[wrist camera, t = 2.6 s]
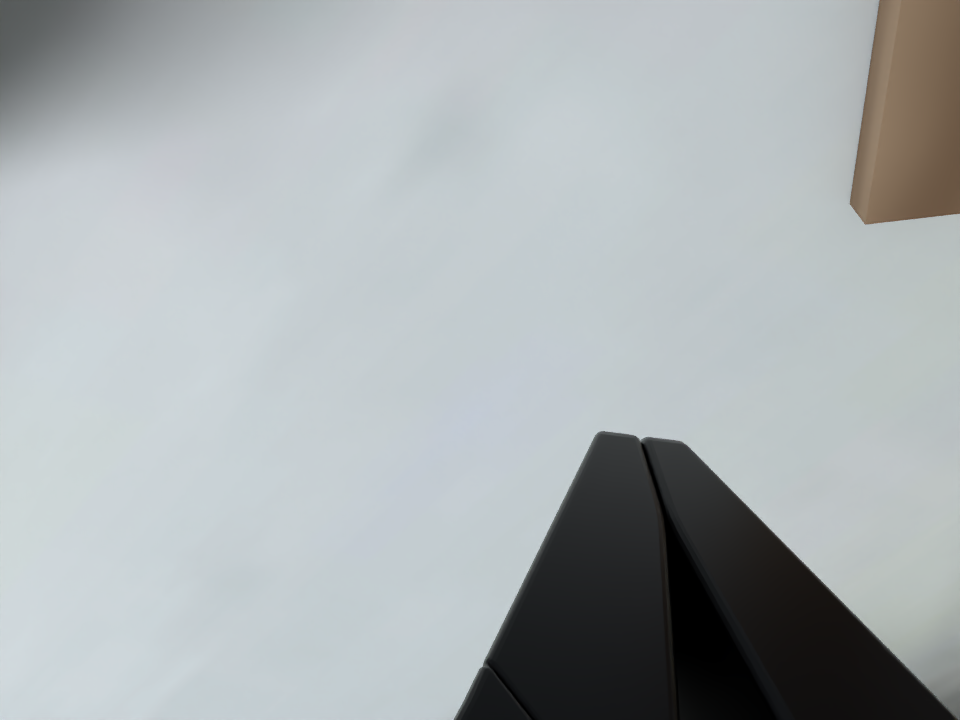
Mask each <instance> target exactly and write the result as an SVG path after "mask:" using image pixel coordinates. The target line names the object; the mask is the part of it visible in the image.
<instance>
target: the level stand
mask: <svg viewBox="0 0 960 720" xmlns="http://www.w3.org/2000/svg"><path fill="white" fill-rule="evenodd" d="M850 205H851V206H852V208H853V209H854V210H855V212H856V213H857V214H858V216H859V217H860V218H861V220H862V221H863V222H864V224H874V223H882V222H891V221H900V220H908V219H917V218H926V217H934V216H943V215H952V214H960V0H880V1H879V8H878V15H877V22H876V29H875V35H874V42H873V49H872V56H871V63H870V69H869V76H868V83H867V90H866V97H865V103H864V110H863V117H862V124H861V131H860V137H859V144H858V151H857V158H856V165H855V171H854V178H853V185H852V192H851V199H850Z"/></svg>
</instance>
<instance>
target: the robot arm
mask: <svg viewBox="0 0 960 720" xmlns="http://www.w3.org/2000/svg"><path fill="white" fill-rule="evenodd" d="M454 720H958V719H957V718H956V717H955V716H954V715H953V713H952V712H951V711H950V710H949V709H948V708H947V707H946V706H945V705H944V704H943V703H942V702H941V701H940V700H939V699H938V698H937V697H936V696H935V695H934V694H933V693H932V692H931V691H930V690H929V689H928V688H927V687H926V686H925V685H924V684H923V683H922V682H921V681H920V680H919V679H918V678H917V677H916V676H915V675H914V674H913V673H912V672H911V671H910V670H909V669H908V668H907V667H906V666H905V665H904V664H903V663H902V662H901V661H900V660H899V659H898V658H897V657H896V656H895V655H894V654H893V653H892V652H891V651H890V650H889V649H888V648H887V647H886V646H885V645H884V644H883V643H882V642H881V641H880V640H879V639H878V638H877V637H876V636H875V635H874V634H873V633H872V632H871V631H870V630H869V629H868V628H867V627H866V626H865V625H864V624H863V623H862V622H861V620H860V619H859V618H858V617H857V616H856V615H855V614H854V613H853V612H852V611H851V610H850V609H849V608H848V607H847V606H846V605H845V604H844V603H843V602H842V601H841V600H840V599H839V598H838V597H837V596H836V595H835V594H834V593H833V592H832V591H831V590H830V589H829V588H828V587H827V586H826V585H825V584H824V583H823V582H822V581H821V580H820V579H819V578H818V577H817V576H816V575H815V574H814V573H813V572H812V571H811V570H810V569H809V568H808V567H807V566H806V565H805V564H804V563H803V562H802V561H801V560H800V559H799V558H798V557H797V556H796V555H795V554H794V553H793V552H792V551H791V550H790V549H789V548H788V547H787V546H786V545H785V544H784V543H783V542H782V541H781V540H780V539H779V538H778V537H777V536H776V535H775V534H774V533H773V532H772V531H771V530H770V529H769V528H768V526H767V525H766V524H765V523H764V522H763V521H762V520H761V519H760V518H759V517H758V516H757V515H756V514H755V513H754V512H753V511H752V510H751V509H750V508H749V507H748V506H747V505H746V504H745V503H744V502H743V501H742V500H741V499H740V498H739V497H738V496H737V495H736V494H735V493H734V492H733V491H732V490H731V489H730V488H729V487H728V486H727V485H726V484H725V483H724V482H723V481H722V480H721V479H720V478H719V477H718V476H717V475H716V474H715V473H714V472H713V471H712V470H711V469H710V468H709V467H708V466H707V465H706V464H705V463H704V462H703V461H702V460H701V459H700V458H699V457H698V456H697V455H696V454H695V453H694V452H693V451H692V450H691V449H690V448H689V447H688V446H687V445H686V444H684V443H683V442H681V441H676V440H668V439H660V438H652V437H646V438H643V439H642V440H641V441H640V440H639V438H637V437H636V436H634V435H629V434H621V433H613V432H605V431H601V432H598V433H597V434H596V435H595V437H594V439H593V441H592V443H591V445H590V447H589V449H588V451H587V453H586V455H585V457H584V459H583V461H582V463H581V465H580V468H579V470H578V472H577V474H576V476H575V478H574V480H573V482H572V484H571V486H570V488H569V490H568V492H567V494H566V496H565V498H564V500H563V502H562V504H561V506H560V508H559V510H558V512H557V514H556V516H555V518H554V520H553V522H552V524H551V526H550V529H549V531H548V533H547V535H546V537H545V539H544V541H543V543H542V545H541V547H540V549H539V551H538V553H537V555H536V557H535V559H534V561H533V563H532V565H531V567H530V569H529V571H528V573H527V575H526V577H525V579H524V581H523V583H522V585H521V587H520V589H519V592H518V594H517V596H516V598H515V600H514V602H513V604H512V606H511V608H510V610H509V612H508V614H507V616H506V618H505V620H504V622H503V624H502V626H501V628H500V630H499V632H498V634H497V636H496V638H495V640H494V642H493V644H492V646H491V648H490V650H489V653H488V655H487V657H486V659H485V661H484V663H483V667H481V668H480V669H479V671H478V673H477V675H476V677H475V679H474V681H473V683H472V685H471V687H470V689H469V691H468V693H467V695H466V697H465V699H464V701H463V703H462V705H461V707H460V709H459V711H458V713H457V715H456V716H455V718H454Z"/></svg>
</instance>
